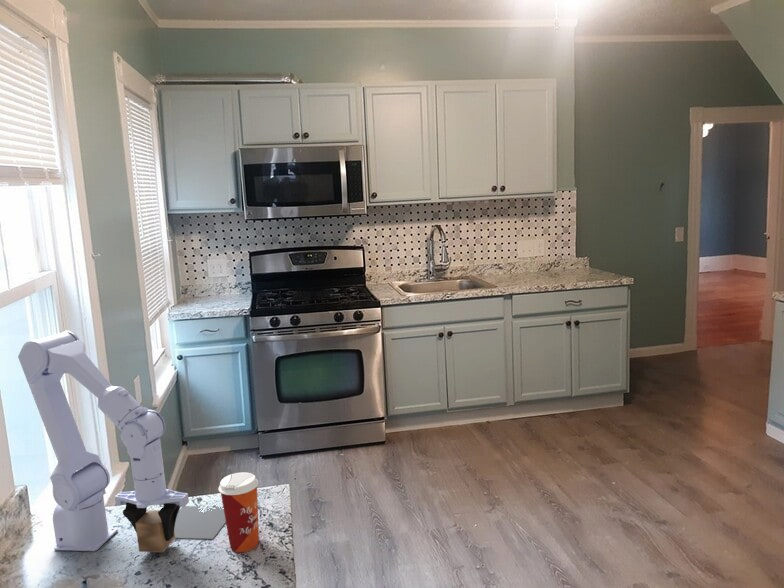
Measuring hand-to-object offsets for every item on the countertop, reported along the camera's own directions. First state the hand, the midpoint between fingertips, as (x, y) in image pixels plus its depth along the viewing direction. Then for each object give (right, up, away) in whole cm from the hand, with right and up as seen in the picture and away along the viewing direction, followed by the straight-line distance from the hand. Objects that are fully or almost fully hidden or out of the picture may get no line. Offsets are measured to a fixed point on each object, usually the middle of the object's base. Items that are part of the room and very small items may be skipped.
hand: (156, 537), depth 123 cm
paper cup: (+18, -2, +1) cm, 18 cm away
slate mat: (+5, -1, +11) cm, 12 cm away
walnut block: (0, -2, 0) cm, 2 cm away
